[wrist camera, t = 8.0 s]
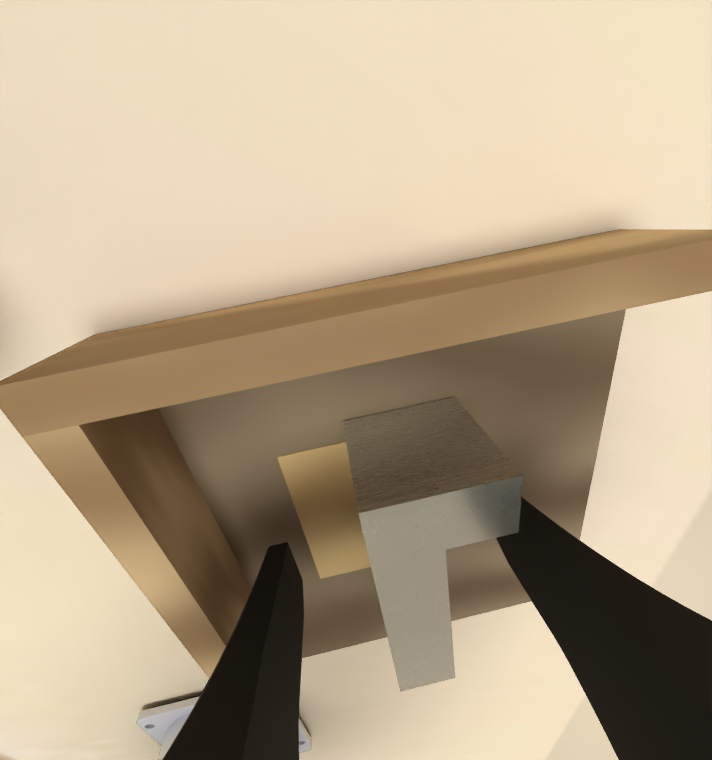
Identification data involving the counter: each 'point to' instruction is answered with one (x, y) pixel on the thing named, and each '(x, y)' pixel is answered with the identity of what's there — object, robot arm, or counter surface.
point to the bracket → (426, 519)
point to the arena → (333, 473)
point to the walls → (283, 363)
